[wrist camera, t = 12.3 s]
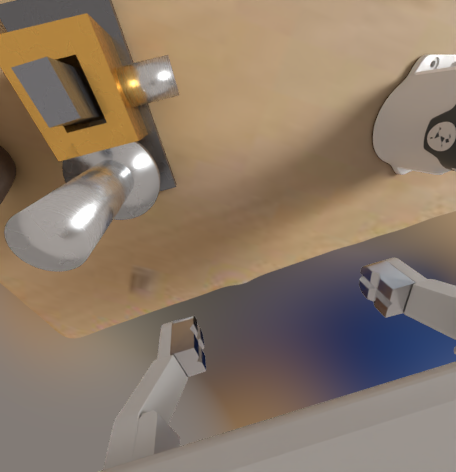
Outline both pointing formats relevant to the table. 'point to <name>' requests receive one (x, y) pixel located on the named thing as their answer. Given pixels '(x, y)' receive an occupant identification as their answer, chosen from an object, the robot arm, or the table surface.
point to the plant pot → (6, 173)
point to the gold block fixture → (87, 129)
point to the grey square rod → (59, 92)
